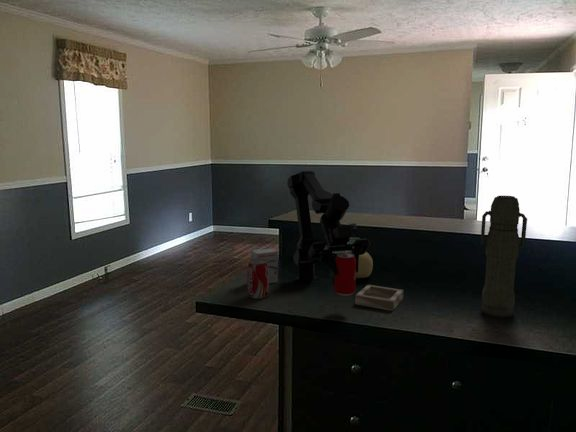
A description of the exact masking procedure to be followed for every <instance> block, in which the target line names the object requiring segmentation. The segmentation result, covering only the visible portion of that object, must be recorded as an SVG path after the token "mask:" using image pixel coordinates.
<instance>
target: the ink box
mask: <svg viewBox="0 0 576 432" xmlns="http://www.w3.org/2000/svg"><path fill="white" fill-rule="evenodd" d="M250 255H251V256H250V260H253V259H263V260H266V263H267V265H268V270H269V284H274V283H278V267H279V266H278V258H279V257H278V256H279V255H278V251H277V250H276V249H273V248H263V249H254V250H251V252H250Z"/></svg>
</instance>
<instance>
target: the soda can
mask: <svg viewBox="0 0 576 432" xmlns="http://www.w3.org/2000/svg"><path fill="white" fill-rule="evenodd" d="M246 267H247V268H246V280H247V281H246V283H247V288H246V289H247V295H248V297H250V298H252V299H255V300H260V299H264V298H266V297H267V296H269V290H270V286H269V285H270V283H269V270H268V265H267V263H266V260H263V259H253V260H251V259H250V260H248V265H247V266H246Z"/></svg>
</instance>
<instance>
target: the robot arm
mask: <svg viewBox="0 0 576 432" xmlns="http://www.w3.org/2000/svg"><path fill="white" fill-rule="evenodd" d="M287 187H288V190H289V194H290V195H291V197H292V198H293V199H294V201H295V202H294V203H295V209H296V217H297V223H298V224H297V226H298V230H299V231H298V232H299V239H298V242H297V244H296V250H295V252H294V254H293V257H292V258H293V263H294V264H295V265H296V266H298V276H297V277H296V278H294V280H295V281H299V282H305V283H312V282H314V281H315V280H317V279H318V278H319V277H318V276H316V275H315V265H317V264H320V263H321V262H322V263H323V264H324V265H326V266H327V267H328V268H329V270H331V271H332V272H333V274H334V275H335V274H336V275H338V270H337V266H336V264H335V258H334V256H333V255H334V253H337V252H346V251H350V253H352V254H354V256H355V259H356V273H357V272H358V260H359V255H363V254H365V253H366V252H367V251H368V250H369V248H370V247H371V242H370V240H369V239H368V238H356V239H355V241H354V242H353V243H349V242H350V240H351V237H354V235H357V234H358V233H359V229H358V226H357V224H356V223H354V222H353V223H350V224H348V225H342V223H341V220H342V219H343V218H344V216H345V215H346V213H347V211H348V209H349V207H350V202H349V200H348V199H347V198H346V197H344V196H342V195H341V194H340V193H339V192H337V193H336V192H335V193H334V192H333V194H332V193H331V192H329V191H326V190H325V189H324V187H323V186H322V184H321V183H320V181H319V179H318V178H317V177H316V174H315V171H312V170H302V171H299V172H298V173H296V174H292V175H290V177H289V178H287ZM309 196H310V197H311V200H312V202H311V207H312V210H313V211H314V213H315V214H317V215H318V214H320V215H321V216H320V218H319V219H320V221H319V226H322V229H323V232H324V237H323V239H324V240H325V241H326V242H327V244H326V242H324V241H320V240H319V239H317V238H316V237H315V236H314V235H313V228H312V220H311V211H310V203H309Z"/></svg>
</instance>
